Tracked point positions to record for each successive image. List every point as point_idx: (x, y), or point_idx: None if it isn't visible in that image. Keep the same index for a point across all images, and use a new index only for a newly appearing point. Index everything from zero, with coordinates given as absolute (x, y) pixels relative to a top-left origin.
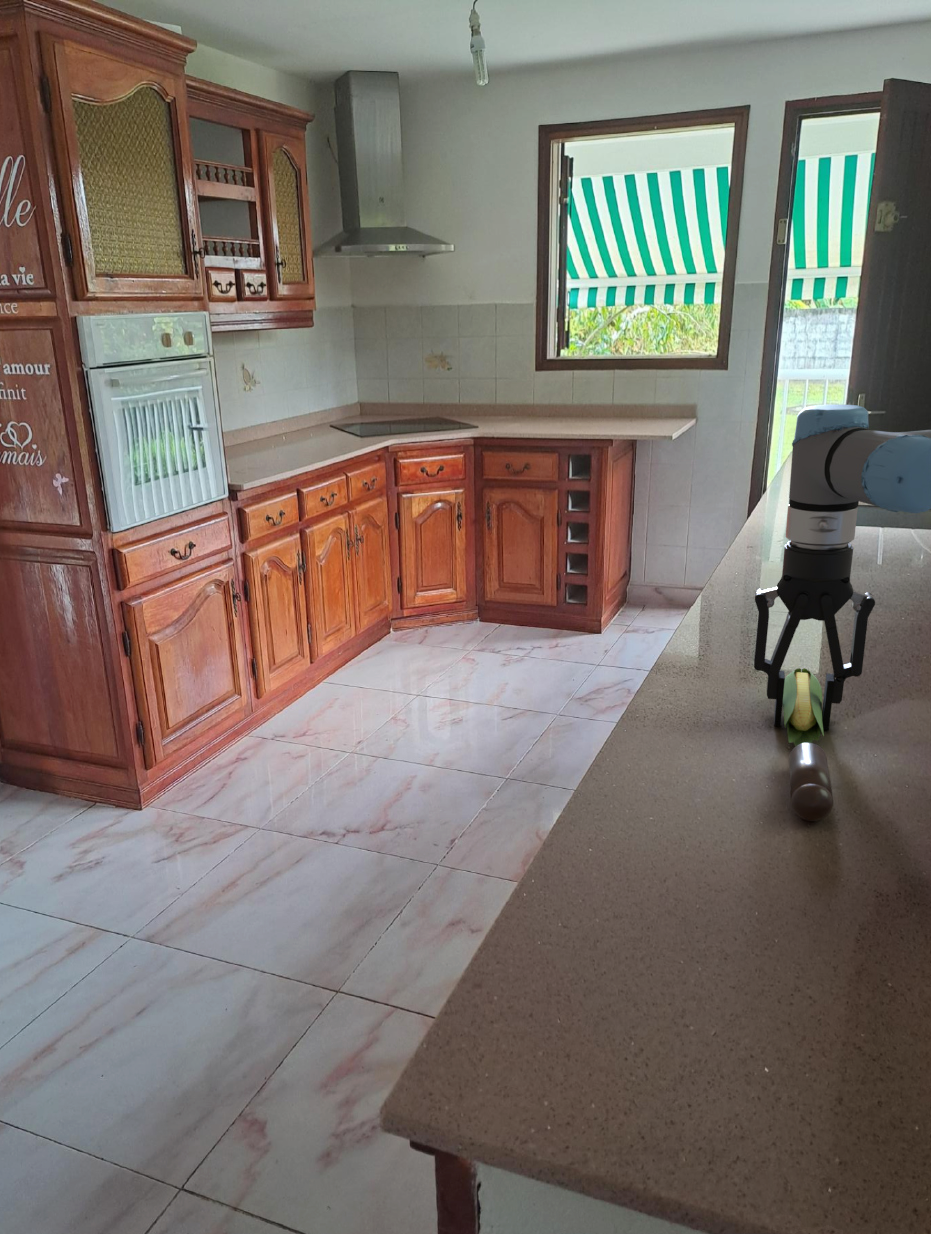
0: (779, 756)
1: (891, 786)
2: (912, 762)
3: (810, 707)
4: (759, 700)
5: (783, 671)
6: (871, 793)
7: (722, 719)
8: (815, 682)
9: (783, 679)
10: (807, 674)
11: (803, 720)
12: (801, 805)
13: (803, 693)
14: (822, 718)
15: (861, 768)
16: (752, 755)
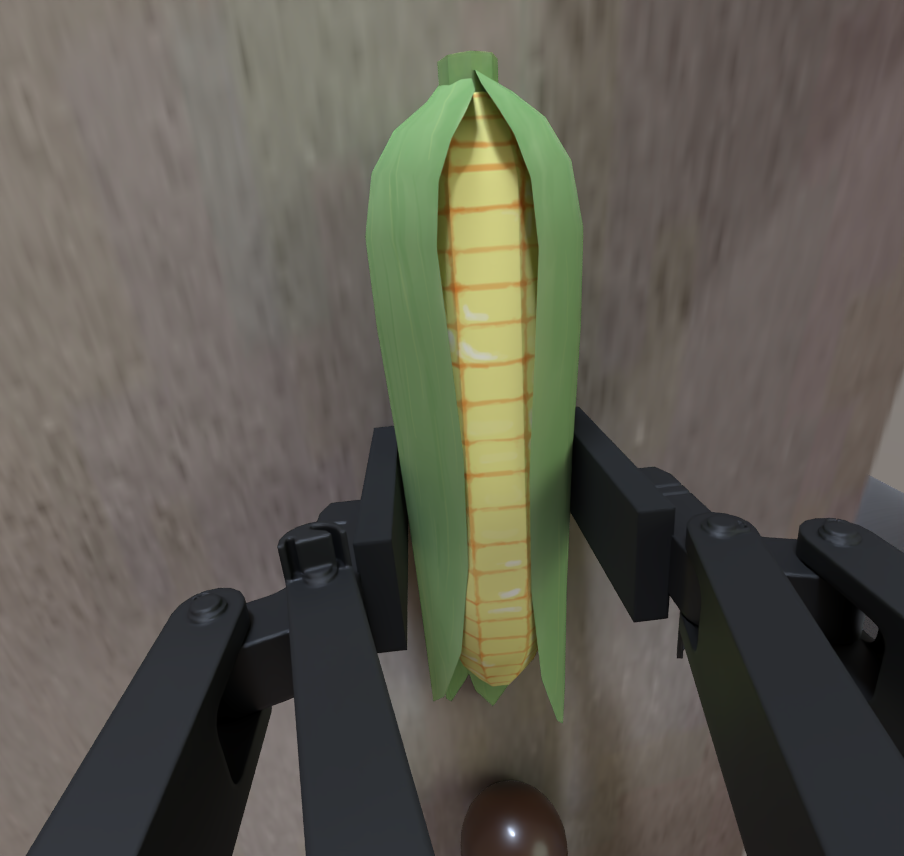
0: (426, 706)
1: (708, 772)
2: None
3: (528, 639)
4: (279, 214)
5: (387, 551)
6: (654, 814)
7: (180, 488)
8: (559, 311)
9: (400, 646)
10: (516, 209)
11: (499, 685)
12: None
13: (498, 525)
14: None
15: (650, 707)
16: None
